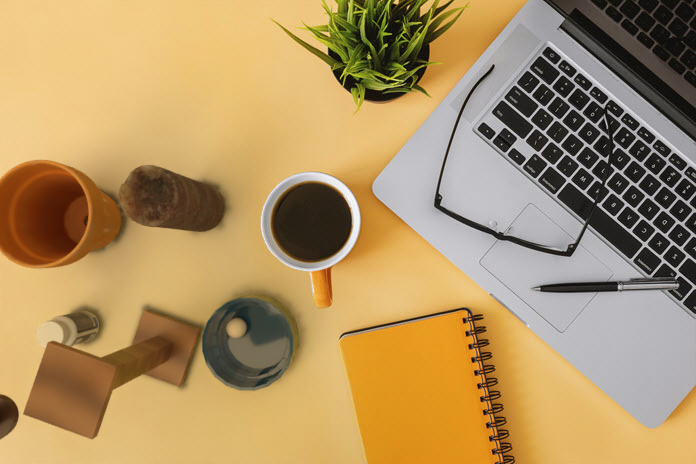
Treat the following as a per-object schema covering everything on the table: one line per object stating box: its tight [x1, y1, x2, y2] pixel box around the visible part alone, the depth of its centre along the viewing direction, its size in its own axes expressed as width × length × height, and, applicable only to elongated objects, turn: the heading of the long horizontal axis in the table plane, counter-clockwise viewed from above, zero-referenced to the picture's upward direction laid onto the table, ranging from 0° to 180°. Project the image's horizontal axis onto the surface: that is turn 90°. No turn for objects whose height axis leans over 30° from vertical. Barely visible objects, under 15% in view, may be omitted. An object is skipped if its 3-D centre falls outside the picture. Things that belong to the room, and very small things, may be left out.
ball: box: [226, 318, 247, 338], centre depth 72 cm, size 3×3×3 cm
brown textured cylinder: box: [118, 164, 226, 233], centre depth 65 cm, size 8×7×20 cm
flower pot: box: [0, 159, 122, 270], centre depth 69 cm, size 14×14×13 cm
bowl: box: [201, 294, 300, 392], centre depth 71 cm, size 13×13×6 cm
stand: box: [22, 309, 202, 440], centre depth 62 cm, size 9×9×24 cm
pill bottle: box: [35, 310, 100, 350], centre depth 71 cm, size 5×5×8 cm
